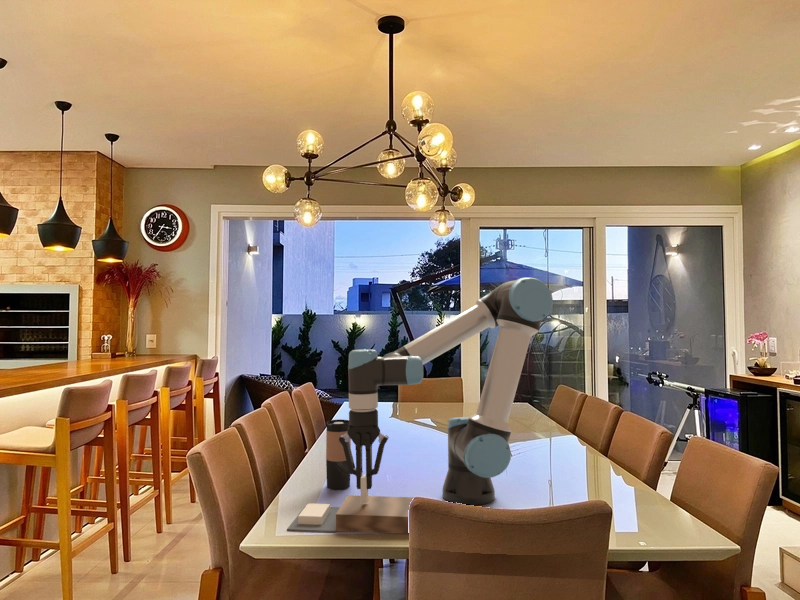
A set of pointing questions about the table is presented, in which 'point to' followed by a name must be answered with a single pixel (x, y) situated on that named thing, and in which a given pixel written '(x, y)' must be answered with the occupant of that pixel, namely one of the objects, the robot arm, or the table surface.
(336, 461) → the travel mug
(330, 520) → the mat
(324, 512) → the tile
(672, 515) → the table surface
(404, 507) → the wooden block
